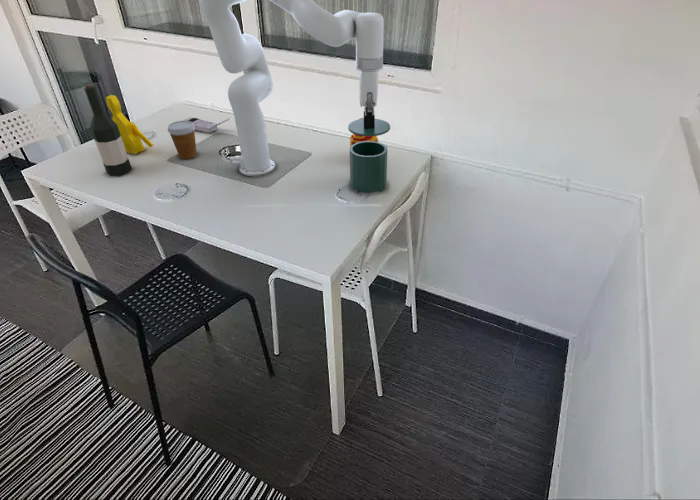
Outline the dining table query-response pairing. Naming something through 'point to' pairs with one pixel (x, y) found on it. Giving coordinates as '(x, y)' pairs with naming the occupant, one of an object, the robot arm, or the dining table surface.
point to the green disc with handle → (359, 129)
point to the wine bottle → (107, 137)
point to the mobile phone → (204, 124)
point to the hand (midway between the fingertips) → (369, 125)
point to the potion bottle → (361, 138)
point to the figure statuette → (126, 128)
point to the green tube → (368, 166)
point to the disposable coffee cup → (183, 138)
